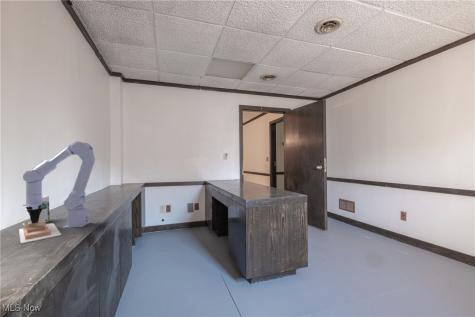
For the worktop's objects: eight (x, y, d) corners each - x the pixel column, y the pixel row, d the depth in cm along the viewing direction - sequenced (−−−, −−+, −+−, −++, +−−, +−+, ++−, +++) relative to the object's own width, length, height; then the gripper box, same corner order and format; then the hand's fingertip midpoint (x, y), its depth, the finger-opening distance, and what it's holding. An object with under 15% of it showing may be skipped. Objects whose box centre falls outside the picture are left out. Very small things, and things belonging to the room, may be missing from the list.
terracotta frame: (24, 233, 99) (23, 229, 99) (46, 228, 105) (46, 225, 105) (25, 239, 91) (25, 236, 91) (49, 234, 97) (49, 231, 97)
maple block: (44, 225, 111) (44, 219, 111) (45, 227, 108) (45, 220, 108) (23, 229, 105) (23, 223, 105) (23, 231, 102) (23, 224, 102)
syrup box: (37, 224, 113) (36, 197, 113) (30, 223, 115) (30, 197, 115) (49, 221, 118) (49, 195, 118) (43, 220, 120) (43, 195, 120)
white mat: (53, 223, 115) (53, 223, 115) (61, 235, 97) (61, 234, 97) (18, 229, 105) (18, 229, 105) (20, 244, 87) (20, 243, 87)
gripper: (22, 193, 108) (22, 220, 108) (23, 197, 98) (23, 226, 98) (40, 192, 113) (41, 217, 114) (43, 195, 104) (44, 222, 104)
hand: (34, 221), depth 106 cm, fingers open, 7 cm apart
